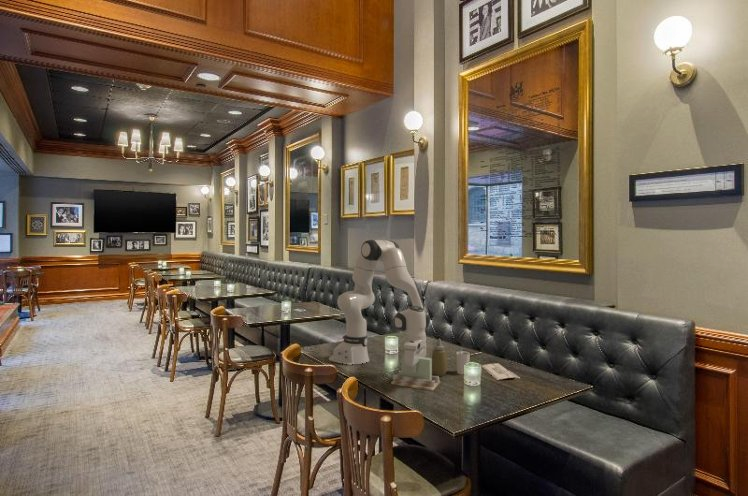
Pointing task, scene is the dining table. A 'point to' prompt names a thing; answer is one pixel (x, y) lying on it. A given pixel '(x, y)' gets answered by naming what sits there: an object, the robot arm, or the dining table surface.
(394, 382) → the door track
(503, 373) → the newspaper
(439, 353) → the squeeze bottle
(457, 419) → the dining table surface
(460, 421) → the dining table surface
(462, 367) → the grey cylinder
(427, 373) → the door panel
